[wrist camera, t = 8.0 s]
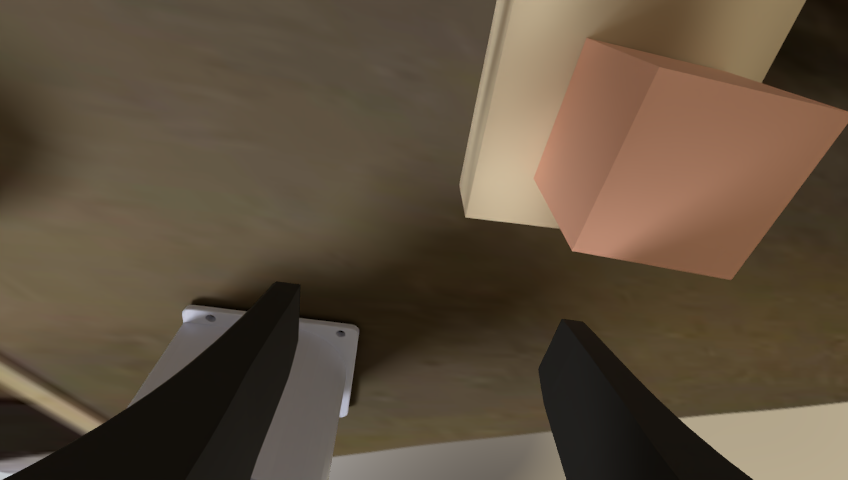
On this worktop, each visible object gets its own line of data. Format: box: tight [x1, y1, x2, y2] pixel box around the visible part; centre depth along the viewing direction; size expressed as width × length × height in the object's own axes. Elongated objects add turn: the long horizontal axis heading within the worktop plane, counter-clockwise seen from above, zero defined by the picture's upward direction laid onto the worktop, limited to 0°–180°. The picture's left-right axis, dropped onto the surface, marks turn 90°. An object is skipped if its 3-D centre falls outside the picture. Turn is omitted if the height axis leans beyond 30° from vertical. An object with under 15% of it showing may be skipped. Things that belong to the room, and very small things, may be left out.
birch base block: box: [459, 0, 806, 229], centre depth 17 cm, size 9×9×4 cm
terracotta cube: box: [534, 38, 848, 280], centre depth 13 cm, size 5×5×5 cm
